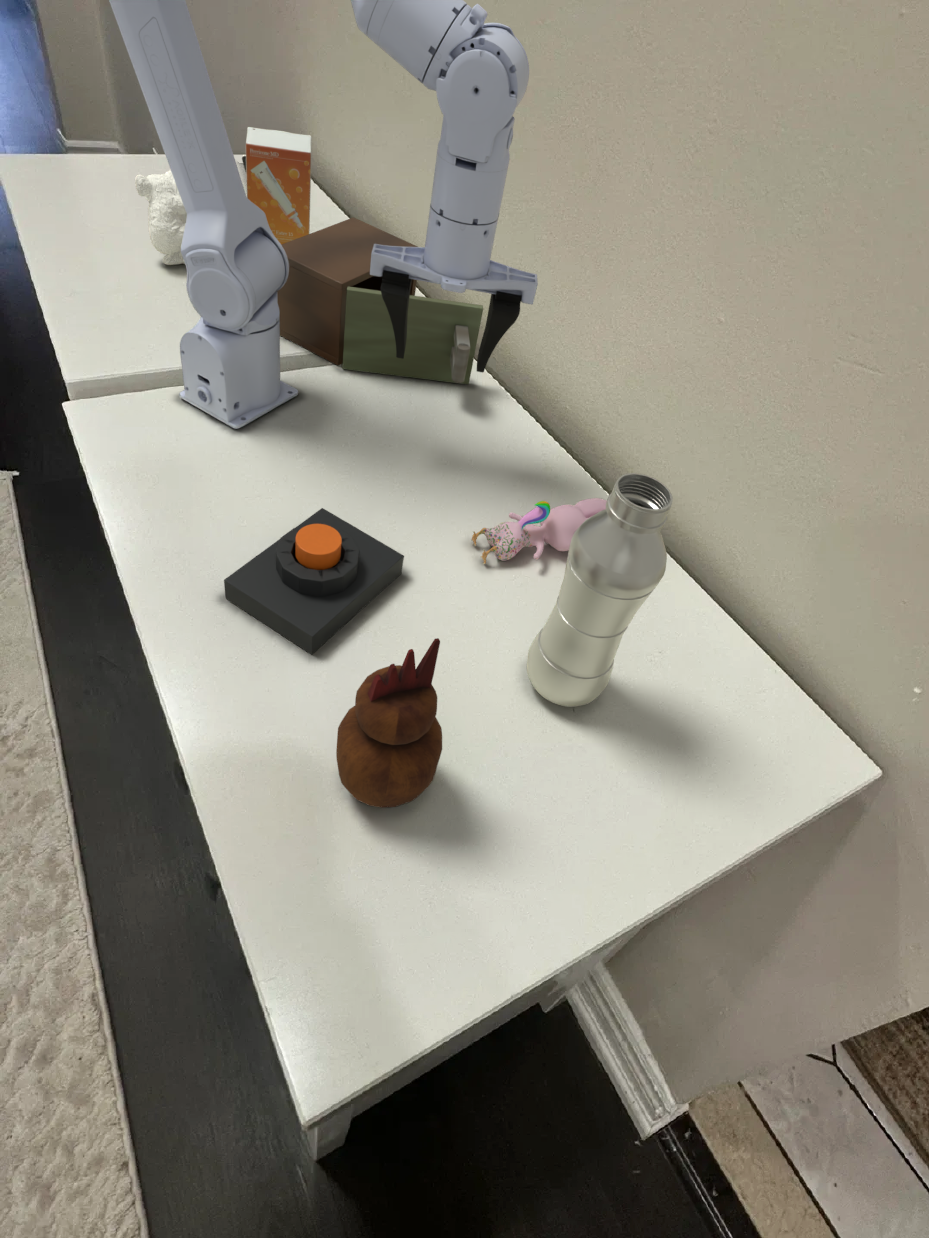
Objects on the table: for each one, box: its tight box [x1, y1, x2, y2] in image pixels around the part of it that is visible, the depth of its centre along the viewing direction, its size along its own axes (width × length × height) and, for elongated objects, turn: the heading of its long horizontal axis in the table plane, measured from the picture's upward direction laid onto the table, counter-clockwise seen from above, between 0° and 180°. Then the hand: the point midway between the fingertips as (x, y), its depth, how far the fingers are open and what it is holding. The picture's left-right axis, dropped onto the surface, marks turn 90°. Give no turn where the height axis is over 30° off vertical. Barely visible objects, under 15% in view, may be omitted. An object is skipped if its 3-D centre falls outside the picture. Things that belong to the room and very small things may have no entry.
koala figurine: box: [134, 169, 187, 266], centre depth 93 cm, size 8×7×12 cm
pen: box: [241, 154, 246, 173], centre depth 117 cm, size 1×19×1 cm, turn 17°
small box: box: [245, 126, 313, 245], centre depth 101 cm, size 8×6×13 cm
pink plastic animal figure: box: [471, 497, 607, 565], centre depth 71 cm, size 6×6×15 cm
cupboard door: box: [342, 286, 484, 385], centre depth 83 cm, size 6×15×9 cm, turn 93°
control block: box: [223, 507, 405, 655], centre depth 63 cm, size 12×9×4 cm
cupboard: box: [277, 216, 419, 367], centre depth 90 cm, size 10×15×10 cm
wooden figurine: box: [335, 637, 443, 809], centre depth 48 cm, size 7×6×15 cm
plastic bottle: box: [526, 472, 674, 708], centre depth 55 cm, size 6×7×20 cm
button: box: [295, 524, 342, 570], centre depth 61 cm, size 4×4×2 cm
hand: (440, 360), depth 73 cm, fingers open, 7 cm apart
